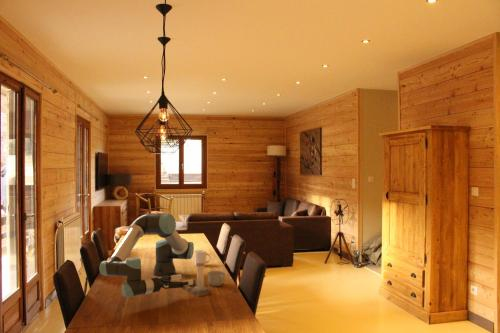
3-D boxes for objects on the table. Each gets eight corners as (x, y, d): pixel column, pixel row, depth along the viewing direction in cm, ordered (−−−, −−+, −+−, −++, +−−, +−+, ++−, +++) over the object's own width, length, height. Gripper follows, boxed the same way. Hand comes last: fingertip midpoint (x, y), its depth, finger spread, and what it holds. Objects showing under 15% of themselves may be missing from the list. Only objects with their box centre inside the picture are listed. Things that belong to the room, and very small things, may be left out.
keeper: (194, 290, 246) (194, 263, 246) (201, 288, 249) (201, 262, 249) (199, 292, 241) (199, 265, 241) (206, 291, 244) (206, 263, 244)
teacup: (206, 283, 266) (206, 270, 266) (222, 281, 269) (222, 269, 269) (212, 289, 252) (211, 276, 252) (229, 287, 256) (229, 274, 256)
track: (182, 288, 255) (182, 281, 255) (193, 286, 260) (193, 279, 260) (198, 296, 239) (198, 289, 239) (210, 293, 244) (210, 286, 244)
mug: (210, 266, 311) (210, 252, 311) (194, 267, 310) (194, 252, 310) (210, 263, 320) (210, 249, 320) (194, 264, 319) (194, 250, 319)
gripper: (142, 287, 236) (177, 281, 249) (161, 298, 216) (197, 290, 228) (142, 273, 236) (176, 268, 249) (161, 283, 216) (197, 277, 228)
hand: (187, 279), depth 238 cm, fingers open, 13 cm apart
